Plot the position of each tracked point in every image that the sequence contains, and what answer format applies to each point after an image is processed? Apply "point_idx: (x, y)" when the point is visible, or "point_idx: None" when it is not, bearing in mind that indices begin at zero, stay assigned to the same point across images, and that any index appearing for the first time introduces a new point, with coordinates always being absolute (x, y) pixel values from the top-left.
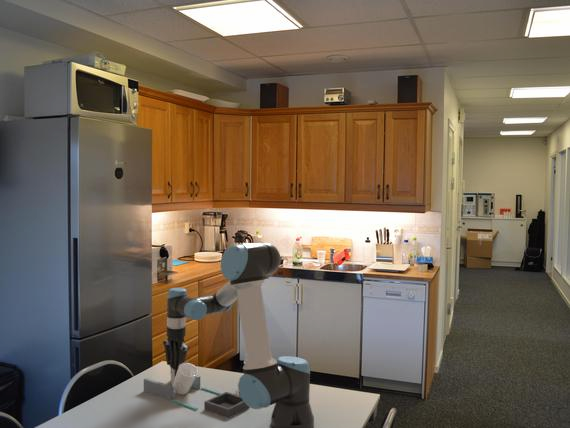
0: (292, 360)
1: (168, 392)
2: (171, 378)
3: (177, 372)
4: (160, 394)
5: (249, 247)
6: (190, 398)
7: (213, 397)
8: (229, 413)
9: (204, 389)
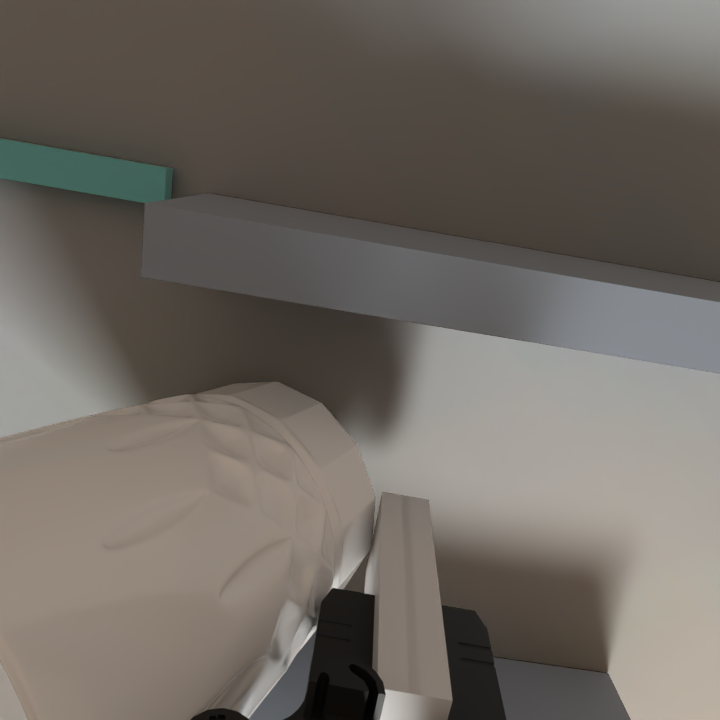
0: None
1: (233, 208)
2: (429, 548)
3: (91, 537)
4: (420, 233)
5: None
6: (50, 374)
7: None
8: None
9: None
